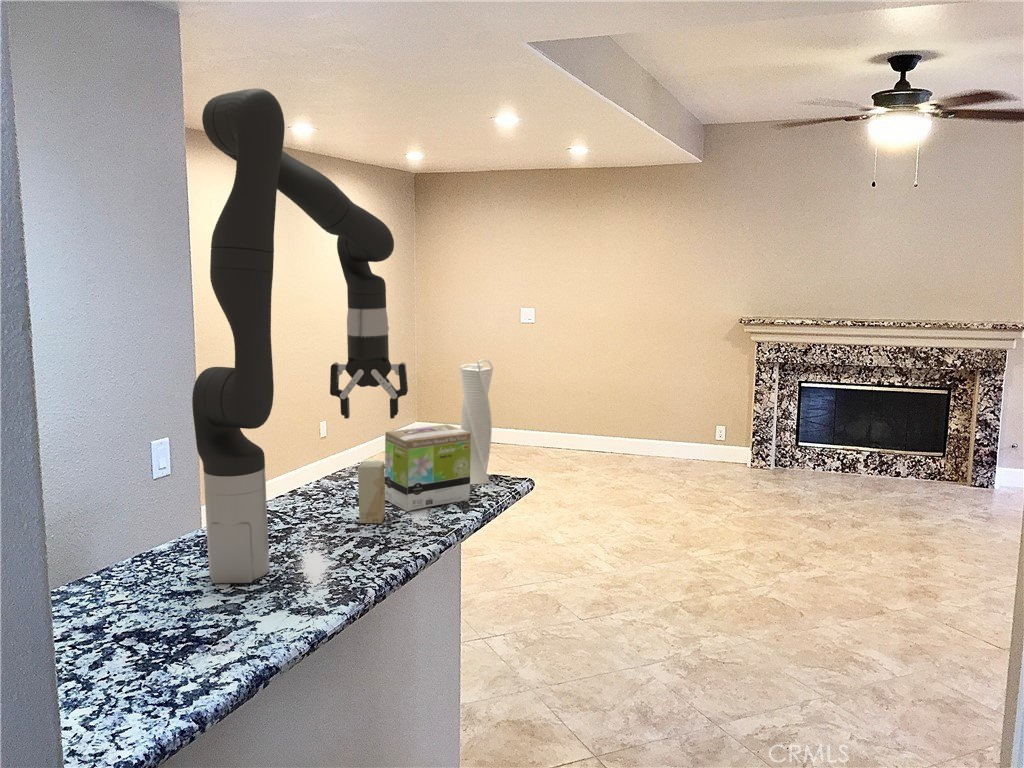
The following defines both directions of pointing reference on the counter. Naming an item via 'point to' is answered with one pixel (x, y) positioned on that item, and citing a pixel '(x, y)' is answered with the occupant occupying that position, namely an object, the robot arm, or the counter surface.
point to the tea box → (427, 466)
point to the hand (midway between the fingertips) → (369, 417)
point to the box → (371, 491)
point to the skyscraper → (477, 417)
